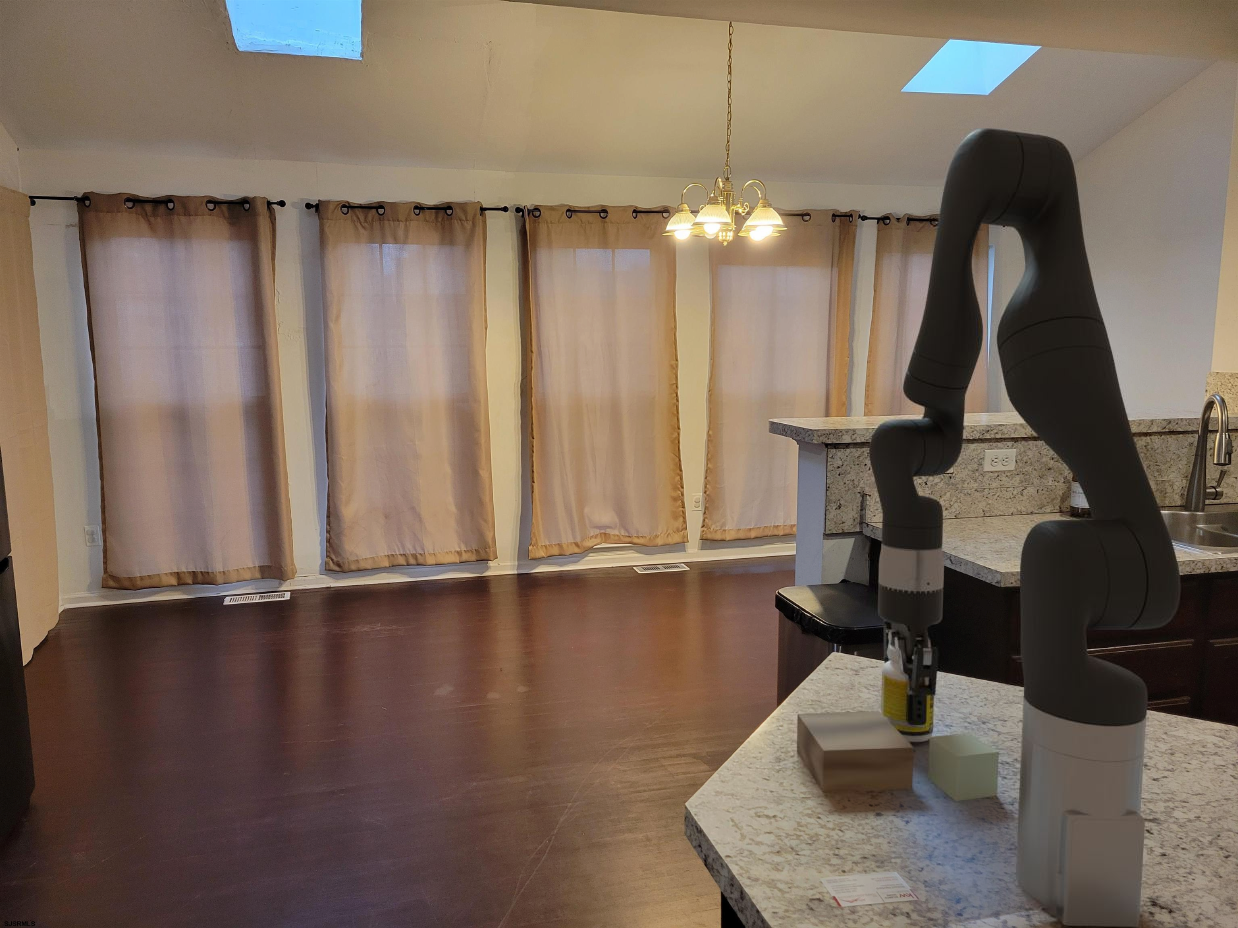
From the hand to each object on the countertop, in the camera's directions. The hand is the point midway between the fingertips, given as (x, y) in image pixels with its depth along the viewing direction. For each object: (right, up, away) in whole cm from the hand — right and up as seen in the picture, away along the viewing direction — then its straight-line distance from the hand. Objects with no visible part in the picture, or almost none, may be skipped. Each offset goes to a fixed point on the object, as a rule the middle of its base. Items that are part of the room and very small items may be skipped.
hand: (907, 712), depth 103 cm
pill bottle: (0, -3, 0) cm, 3 cm away
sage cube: (+2, -5, -12) cm, 13 cm away
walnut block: (-9, -4, -8) cm, 13 cm away
